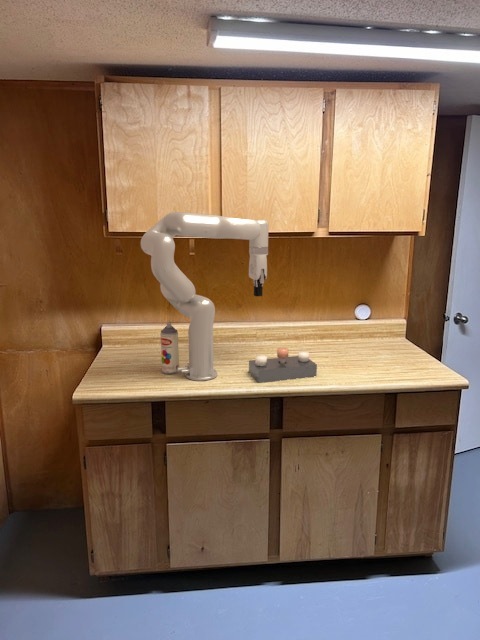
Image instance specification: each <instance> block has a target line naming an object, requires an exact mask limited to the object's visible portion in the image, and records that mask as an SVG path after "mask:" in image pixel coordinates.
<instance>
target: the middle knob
mask: <svg viewBox="0 0 480 640" xmlns="http://www.w3.org/2000/svg"><path fill="white" fill-rule="evenodd" d="M276 355H277V357H276V358H280V364H285V358H288V357H289V348H287V347H278V348H276Z"/></svg>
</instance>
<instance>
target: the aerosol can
mask: <svg viewBox="0 0 480 640" xmlns="http://www.w3.org/2000/svg"><path fill="white" fill-rule="evenodd" d="M160 350H161V351H160V353H161V355H160V357H161V373H162V374H164V375H175V374H178V373H179V372H177V367H180V358H179V355H180V354H179V332H178V330H177V329H176V328H175V327H174V326H172V323H171V322H166V326H165V327H163V329H161V331H160Z"/></svg>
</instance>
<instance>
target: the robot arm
mask: <svg viewBox="0 0 480 640" xmlns="http://www.w3.org/2000/svg"><path fill="white" fill-rule="evenodd" d="M176 236H179V237H185V238H186V237H188V238H204V239H205V238H206V239H220V240H221V239H231V240H232V239H234V240H247V241H249V244H248V245H249V247H248V249H249V250H248V253H249V254H248V255H249V263H248V277H249V278H250V279H252V281H253V297H263V286H264V283H265V281H266V280H267V278H268V260H267V259H268V258H267V256H268V255H269V222H268V220H266V219H247V218H236V217H229V216H222V215H216V214H205V213H196V212H195V213H194V212H184V211H183V212H182V211H171V212H169V213H167V214H166V215H164V217H162V218H161V219H160V220H158V222H157V223H155V224H154V225H153V226H152V227H150V229H148V230H147V231H146V232H145V233H144V234H143V236H142V237H141V239H140V248H141V250H142V252H144V253H145V254H146V255H149V256H151V257H150V267H151V272H152V274H153V276H154V277H155V279H156V280H157V281H158V282H159V283H160V285H159V286H160V292H161V293H162V295H163V297H164V298H165V299H166V300H167V301H168V302H169V304H170V305H172V306H173V307H174V309H176V310H177V311H178V312H179V313H180V314H181V315H183V316H185V317H187V318H189V319H190V322H189V325H188V332H187V334H188V335H187V337H188V363H187V365H184V366H179V367H177V372H178V373H181V374H185V378H186V379H189V380H191V381H199V382H200V381H201V382H202V381H210V380H213V379H215V378H216V377H217V376H218V370H216V369H215V368H214V322H215V321H214V320H215V316H216V307H215V303H214V302H213V301H212V300H211V299H210V298H208V297H206V296H203V295H199V294H196V288H195V285H194V284H193V282H192V281H191V280H190V279H189V278H188V277H187V276H186V274H184V273H183V271H182V270H180V268H179V267H178V265H177V264H176V263H175V257H174V256H175V249H176V244H175V241H174V238H175V237H176Z"/></svg>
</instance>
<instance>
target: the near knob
mask: <svg viewBox="0 0 480 640" xmlns="http://www.w3.org/2000/svg"><path fill="white" fill-rule="evenodd" d="M267 359H268V356H267V355H264V354H258V355H255V358H254V360H255V364H256V365H257V366H265V365H267Z"/></svg>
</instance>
